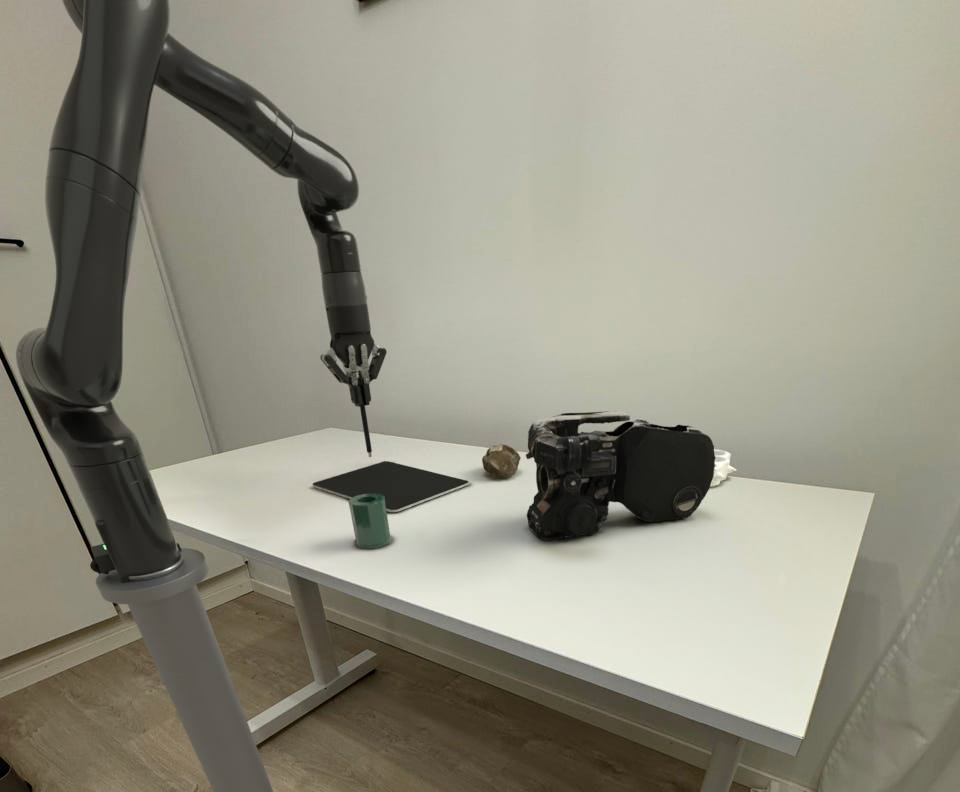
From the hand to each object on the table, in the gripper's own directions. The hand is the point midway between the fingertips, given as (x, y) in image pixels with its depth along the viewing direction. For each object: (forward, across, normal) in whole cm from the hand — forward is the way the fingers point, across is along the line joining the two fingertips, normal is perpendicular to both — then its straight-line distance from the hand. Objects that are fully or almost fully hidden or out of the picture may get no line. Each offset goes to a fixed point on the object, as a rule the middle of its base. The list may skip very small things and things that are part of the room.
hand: (362, 405), depth 109 cm
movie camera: (+15, -15, +52) cm, 56 cm away
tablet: (+15, 0, +7) cm, 16 cm away
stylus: (+10, 0, 0) cm, 10 cm away
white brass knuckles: (+15, -45, +46) cm, 66 cm away
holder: (+15, +16, +31) cm, 38 cm away
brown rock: (+15, -21, +17) cm, 31 cm away
